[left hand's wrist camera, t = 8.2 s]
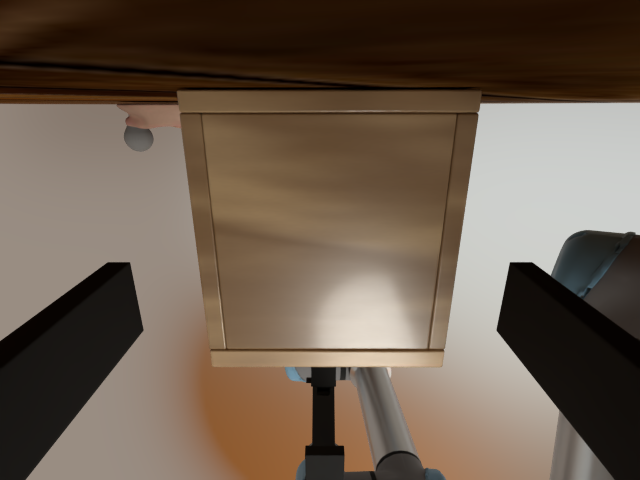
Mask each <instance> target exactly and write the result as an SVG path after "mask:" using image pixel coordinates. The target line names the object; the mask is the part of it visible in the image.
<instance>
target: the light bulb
mask: <svg viewBox="0 0 640 480" xmlns="http://www.w3.org/2000/svg"><path fill="white" fill-rule="evenodd" d="M128 115H129V114H128ZM124 140H125V142H126V144H127V145H128V146H129V147H130V148H131V149H133V150H135V151H145V150H147V149H149V148H150V147H151V146H152V143H153V135H152V133H151V131H150V130H149V129H141V128H137V127H132V126H128V125H127V128H126V130H125V133H124Z"/></svg>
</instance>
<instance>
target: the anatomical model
mask: <svg viewBox="0 0 640 480" xmlns="http://www.w3.org/2000/svg"><path fill="white" fill-rule="evenodd" d="M117 107H119V108H120V109H121V110H123V111H125V112H127V113H128V114H129V117H128V118H126V124H127V125H128V126H132V127H137V128H141V129H150V128H155V127H163V126H172V127H177V128H181V122H180V113H181V112H180V111H179V105H178V104H117Z"/></svg>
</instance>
